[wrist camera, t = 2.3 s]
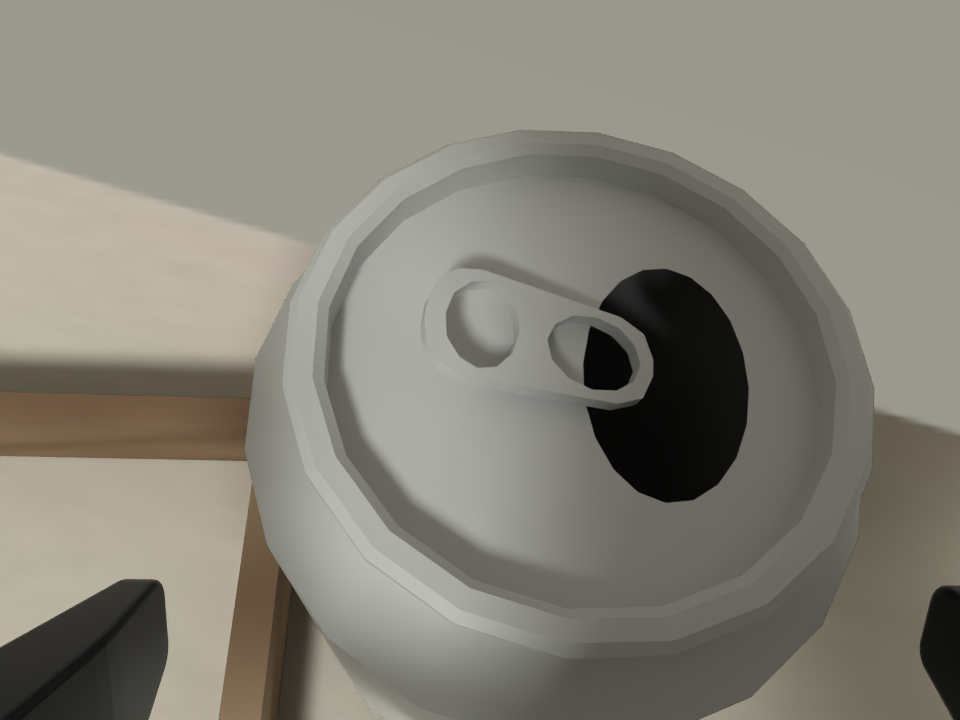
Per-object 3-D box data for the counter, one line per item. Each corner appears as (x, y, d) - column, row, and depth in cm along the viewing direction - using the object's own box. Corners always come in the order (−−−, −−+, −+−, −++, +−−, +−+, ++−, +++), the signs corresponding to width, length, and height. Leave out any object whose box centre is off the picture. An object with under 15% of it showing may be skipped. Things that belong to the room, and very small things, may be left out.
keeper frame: (253, 939, 15) (232, 961, 13) (-338, 954, 14) (-446, 980, 12) (308, 433, 20) (298, 399, 18) (-122, 423, 19) (-176, 387, 17)
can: (636, 786, 16) (1033, 803, 6) (294, 737, 16) (89, 669, 6) (642, 464, 20) (896, 125, 10) (362, 423, 20) (310, 36, 10)
